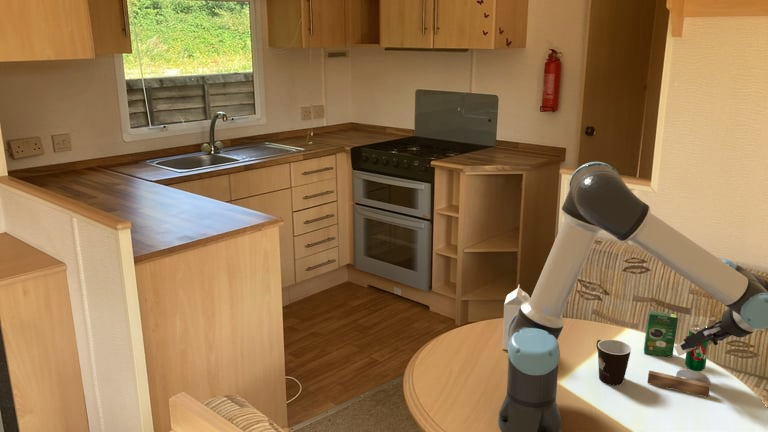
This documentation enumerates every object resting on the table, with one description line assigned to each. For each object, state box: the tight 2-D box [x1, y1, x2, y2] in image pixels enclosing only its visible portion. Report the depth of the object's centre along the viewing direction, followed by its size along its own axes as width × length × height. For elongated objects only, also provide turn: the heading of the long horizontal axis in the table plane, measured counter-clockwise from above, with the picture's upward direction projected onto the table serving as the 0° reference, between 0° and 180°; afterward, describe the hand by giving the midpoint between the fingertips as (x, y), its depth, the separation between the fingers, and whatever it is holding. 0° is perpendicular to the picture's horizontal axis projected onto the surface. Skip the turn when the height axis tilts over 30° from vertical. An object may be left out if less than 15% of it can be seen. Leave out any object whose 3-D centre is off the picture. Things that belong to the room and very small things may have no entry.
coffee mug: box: [596, 338, 632, 387], centre depth 177 cm, size 12×9×10 cm
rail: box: [647, 370, 711, 398], centre depth 171 cm, size 15×2×3 cm, turn 61°
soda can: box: [684, 323, 710, 372], centre depth 173 cm, size 5×5×12 cm
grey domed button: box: [676, 368, 710, 384], centre depth 176 cm, size 8×8×1 cm
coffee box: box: [643, 310, 679, 358], centre depth 188 cm, size 8×3×13 cm, turn 70°
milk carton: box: [501, 284, 531, 351], centre depth 193 cm, size 7×7×19 cm
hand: (685, 349), depth 177 cm, fingers closed on soda can, 5 cm apart
